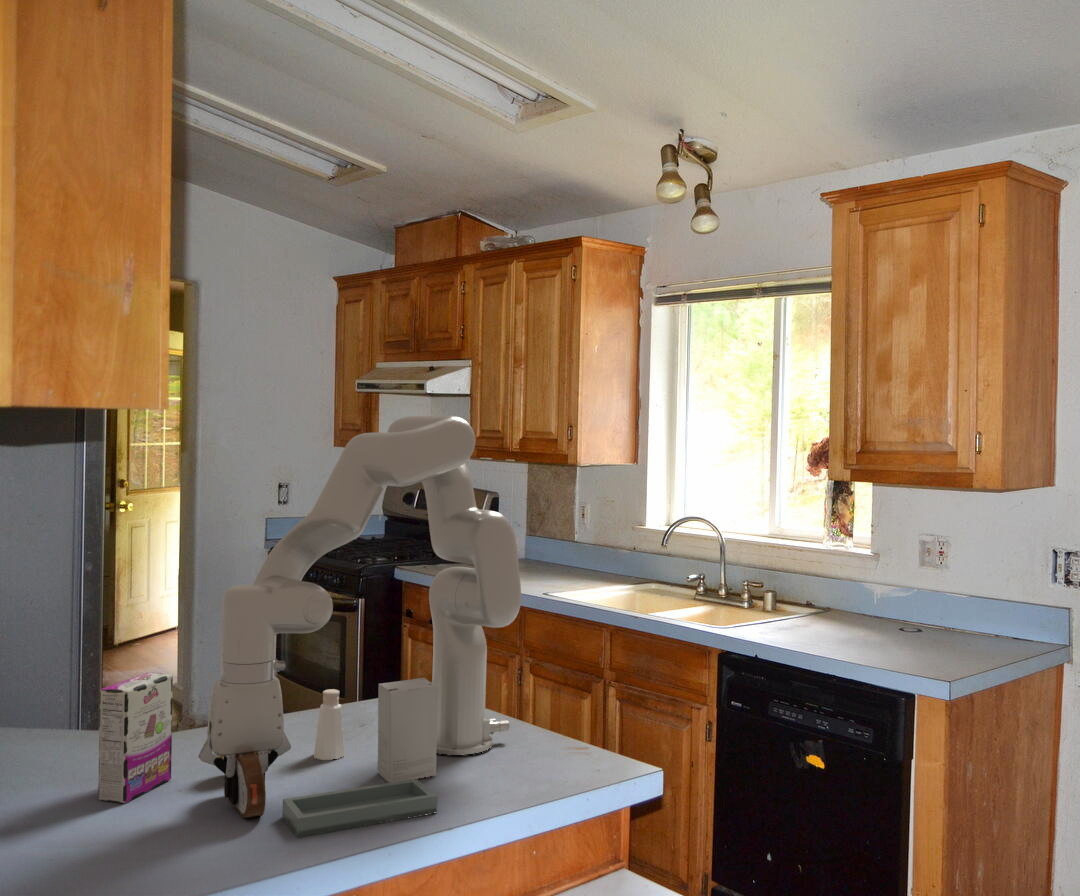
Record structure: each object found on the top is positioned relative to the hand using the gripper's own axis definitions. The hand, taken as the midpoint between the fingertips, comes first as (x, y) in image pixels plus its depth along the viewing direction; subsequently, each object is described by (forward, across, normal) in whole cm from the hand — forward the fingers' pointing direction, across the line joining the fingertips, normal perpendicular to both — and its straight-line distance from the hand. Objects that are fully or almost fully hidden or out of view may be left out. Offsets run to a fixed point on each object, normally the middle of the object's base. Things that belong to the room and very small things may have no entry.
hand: (244, 798), depth 136 cm
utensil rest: (+1, -14, +10) cm, 17 cm away
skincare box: (+1, -26, -3) cm, 26 cm away
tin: (+1, 0, 0) cm, 1 cm away
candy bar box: (+1, +13, -14) cm, 19 cm away
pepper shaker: (+1, -18, -18) cm, 25 cm away
